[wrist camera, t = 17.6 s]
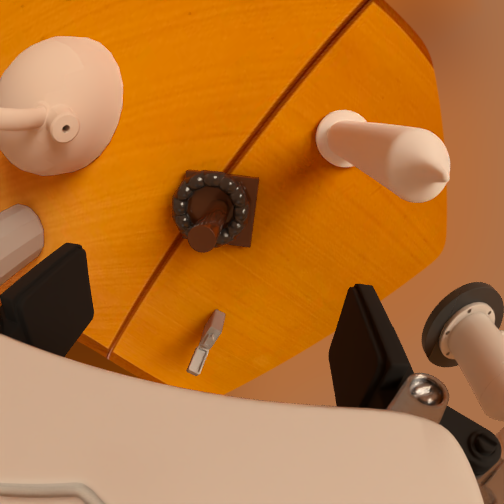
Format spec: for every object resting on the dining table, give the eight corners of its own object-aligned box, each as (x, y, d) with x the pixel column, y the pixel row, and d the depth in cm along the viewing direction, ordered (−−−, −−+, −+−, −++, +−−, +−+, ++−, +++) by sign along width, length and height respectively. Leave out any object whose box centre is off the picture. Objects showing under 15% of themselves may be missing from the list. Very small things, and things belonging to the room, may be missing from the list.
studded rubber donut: (254, 174, 38) (253, 177, 36) (245, 247, 42) (244, 254, 40) (176, 166, 38) (171, 168, 36) (173, 238, 42) (169, 244, 40)
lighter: (215, 308, 47) (205, 343, 40) (226, 314, 47) (217, 349, 40) (196, 339, 50) (185, 374, 42) (206, 344, 50) (196, 379, 43)
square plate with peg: (259, 177, 39) (254, 199, 29) (250, 244, 42) (243, 286, 32) (187, 169, 39) (158, 188, 29) (184, 235, 43) (157, 273, 33)
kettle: (100, 193, 41) (16, 242, 24) (6, 150, 38) (-77, 178, 22) (150, 53, 33) (69, 21, 16) (41, 30, 30) (-45, 16, 14)
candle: (303, 137, 36) (352, 172, 14) (343, 98, 34) (448, 78, 11) (343, 178, 38) (432, 270, 15) (382, 140, 36) (514, 185, 13)
